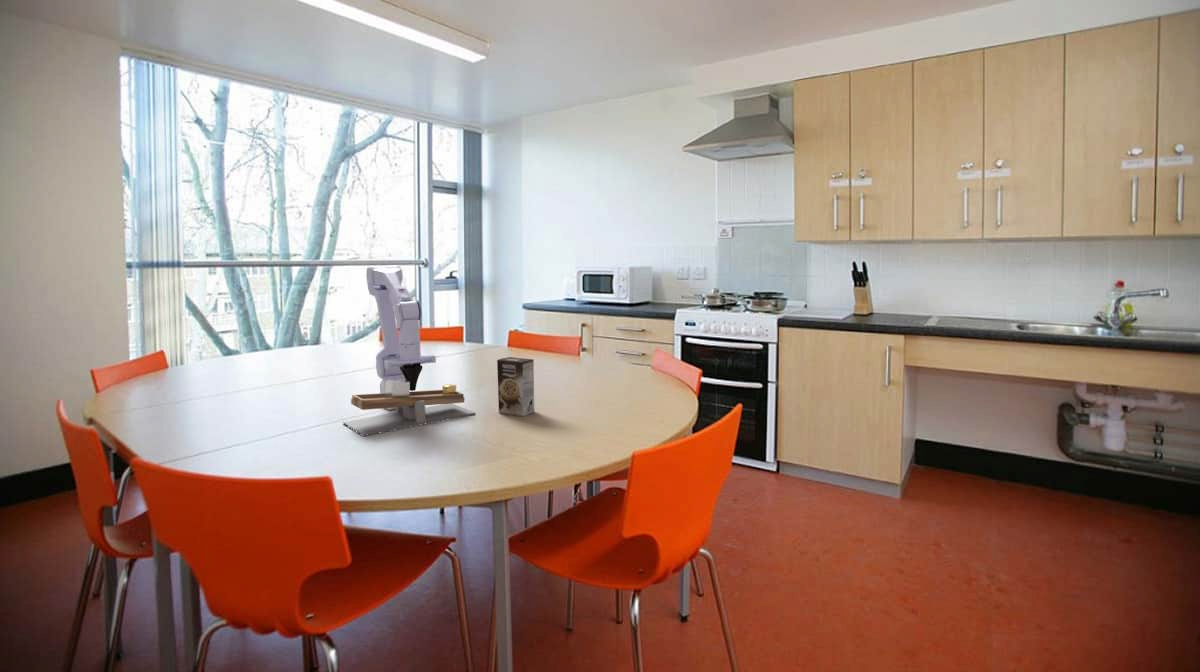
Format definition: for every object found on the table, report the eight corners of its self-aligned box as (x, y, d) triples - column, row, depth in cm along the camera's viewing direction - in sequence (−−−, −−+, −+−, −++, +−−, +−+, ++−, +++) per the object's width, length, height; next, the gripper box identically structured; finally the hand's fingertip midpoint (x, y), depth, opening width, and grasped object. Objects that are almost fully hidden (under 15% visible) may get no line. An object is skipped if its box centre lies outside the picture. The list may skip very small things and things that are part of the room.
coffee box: (497, 413, 190) (495, 359, 188) (510, 408, 196) (508, 356, 193) (523, 416, 186) (521, 361, 183) (535, 411, 191) (534, 358, 189)
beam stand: (343, 424, 180) (341, 401, 179) (450, 404, 201) (449, 384, 200) (362, 436, 168) (361, 412, 167) (475, 414, 189) (474, 393, 188)
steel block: (385, 397, 182) (385, 380, 182) (402, 396, 185) (402, 379, 185) (391, 400, 178) (392, 382, 178) (409, 399, 181) (409, 381, 181)
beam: (349, 403, 179) (349, 394, 179) (448, 396, 198) (449, 388, 198) (364, 410, 170) (364, 401, 170) (466, 403, 189) (466, 394, 189)
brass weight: (439, 394, 192) (440, 384, 191) (452, 394, 194) (452, 384, 194) (445, 397, 189) (446, 387, 188) (458, 396, 191) (458, 386, 191)
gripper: (390, 347, 174) (393, 396, 176) (439, 342, 184) (441, 388, 185) (380, 344, 180) (383, 392, 182) (428, 339, 189) (431, 384, 191)
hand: (412, 390), depth 184 cm, fingers closed
